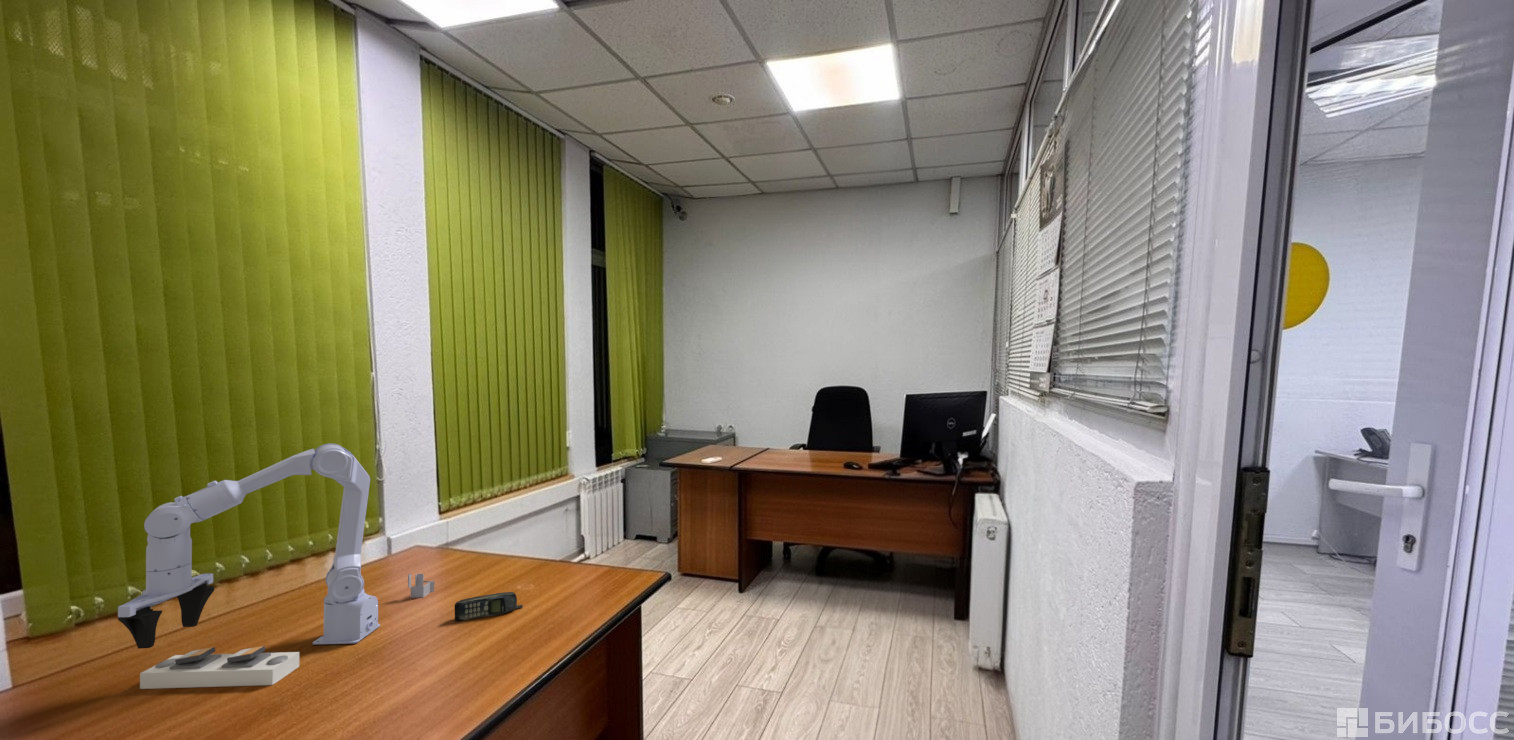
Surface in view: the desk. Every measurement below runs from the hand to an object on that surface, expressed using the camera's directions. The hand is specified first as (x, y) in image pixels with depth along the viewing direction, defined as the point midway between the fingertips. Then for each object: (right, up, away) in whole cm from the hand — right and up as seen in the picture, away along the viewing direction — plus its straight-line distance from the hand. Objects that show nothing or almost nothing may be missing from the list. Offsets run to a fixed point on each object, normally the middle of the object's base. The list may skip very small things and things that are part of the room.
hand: (168, 636), depth 96 cm
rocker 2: (+12, -6, +3) cm, 14 cm away
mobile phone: (+47, -10, +29) cm, 56 cm away
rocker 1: (+3, -5, +2) cm, 6 cm away
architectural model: (+18, -10, +41) cm, 46 cm away
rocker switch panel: (+8, -10, +3) cm, 13 cm away
